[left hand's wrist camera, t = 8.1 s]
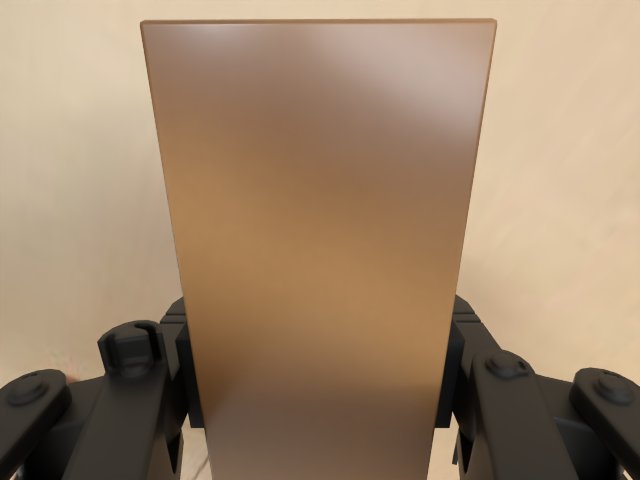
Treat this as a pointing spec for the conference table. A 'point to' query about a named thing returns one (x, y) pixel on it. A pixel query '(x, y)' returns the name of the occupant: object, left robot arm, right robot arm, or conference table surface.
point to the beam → (319, 230)
